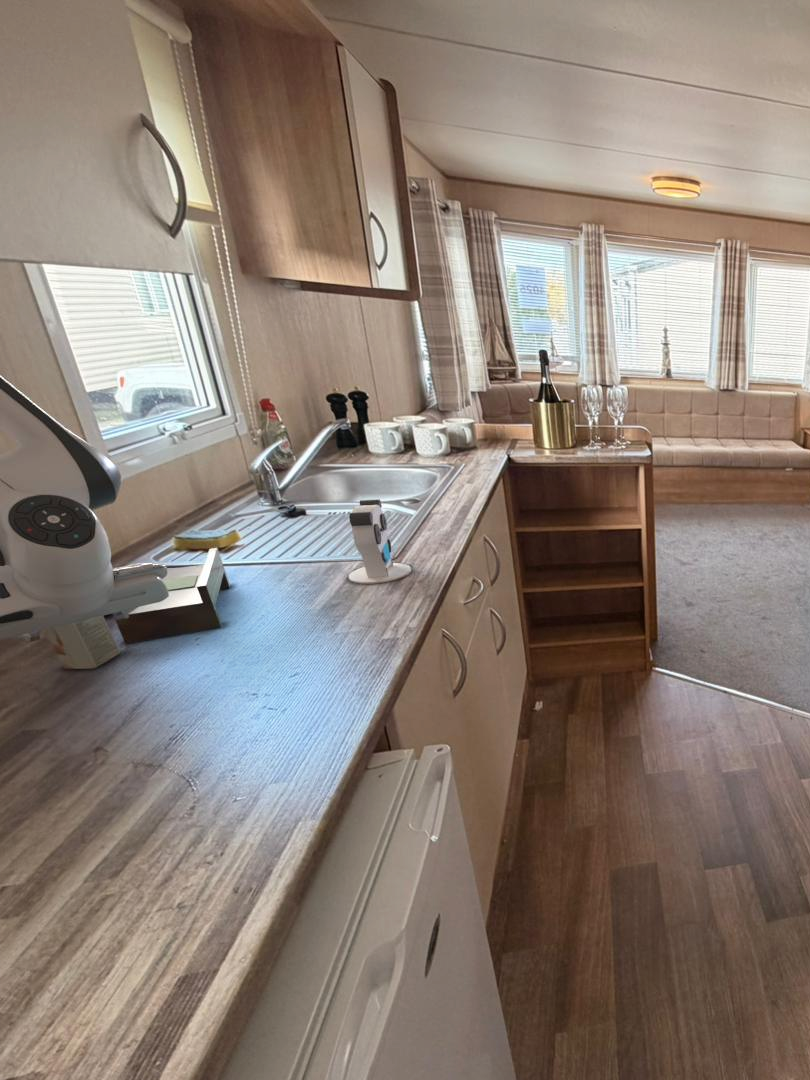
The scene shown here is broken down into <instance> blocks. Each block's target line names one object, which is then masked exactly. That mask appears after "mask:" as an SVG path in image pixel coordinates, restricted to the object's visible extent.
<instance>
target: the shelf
mask: <svg viewBox="0 0 810 1080" xmlns="http://www.w3.org/2000/svg"><path fill="white" fill-rule="evenodd" d="M163 581H164V583H165V584H166V586H167V589H168V592H169V596H168V597H167V598H166V599H165V600H163V601H161V602H157V603H153V604H149V605H144V606H140V607H138V608H136V609H135V610H134V611H132V612H131V613H129V618H126V619H121V620H117V621H116V620H115V618H114V617H113V619H114V621H115V623H116V626H117V628H118V631H119V633H120V635H121V637H122V639H123V641H124V644H125V645H127V644H133V643H138V642H145V641H151V640H156V639H162V638H163V639H164V638H167V637H169V638H170V637H173V636H179V635H185V634H192V633H197V632H203V631H210V630H214V629H221V628H222V625H223V623H222V621H221V617H220V615H219V613H218V610H217V607H216V605H217V602H218V601H217V600H218V597H219V594H220V590H225V589H230V587H231V584H230V581H229V577H228V574H227V572H226V569H225V566H224V563H223V560H222V557H221V554H220V552H219V549H218V547H214V548H213V547H211V548H209V549H208V552H207V555H206V558H205V561H204V564H198V565H197V564H196V565H190V566H182V567H174V568H167V576H166V577H165V578H163Z"/></svg>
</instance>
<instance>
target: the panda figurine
mask: <svg viewBox="0 0 810 1080" xmlns="http://www.w3.org/2000/svg"><path fill="white" fill-rule="evenodd" d="M382 507H383V506H382V501H381V499H363V500H359V505H356V506H355V507H354V508H353V509H352V512H349V523H350V525H351V530H352V531H351V532H352V538H353V541H354V545H355V548H356V549H357V551H358V553H359V554H360V555H361V558H362V562H363V566H362V567H360V568H357V569H355V570H353V571H351V572H350V573H349V574H348V580H349V581H350V582H352V583H356V584H361V585H372V584H373V585H374V584H382V583H388V582H393V581H396V580H400V579H402V578H404V577H406V576H408V575H409V574H411V572H412V567H411V566H410V565H408V564H405V563H401V562H393V558H392V555H391V552H392V542H391V540H390V539H389V538H388V524H387V523H388V522H387V518H386V516H385V514H384V513H383V510H382Z"/></svg>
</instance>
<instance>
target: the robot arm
mask: <svg viewBox="0 0 810 1080" xmlns="http://www.w3.org/2000/svg"><path fill="white" fill-rule="evenodd" d="M0 430H1V431H3V432H4V433H6V435H8V436H9V437H11V438H12V439H13V440H14V441H15V442H16V443H17V447H16V448H14V449H12V450H10V451H7V452H4V453H2V454H0V641H2V640H6V639H11V638H13V639H20V640H23V641H24V642H25V644H28V643H32V642H36V641H40V640H41V636H40V633H39V632H40V631H44V629H48V628H52V627H57V626H61V625H65V624H69V623H73V622H78V621H82V620H86V619H90V618H94V617H98V616H103V615H105V616H108V615H112V616H113V619H114V618H115V619H114V621H115V620H116V621H117V620H121V619H126V618H129V613H131V612H132V611H134V610H135V609H136V608H138V607H140V606H144V605H149V604H153V603H157V602H161V601H163V600H165V599H166V598H167V597H168V596H169V592H168V589H167V586H166V584H165V583H164V581H163V578H165V577H166V576H167V569H168V567H167V566H166V565H165V564H163V563H161V564H154V563H152V562H149V563H146V562H145V563H144V562H143V563H134V564H130V565H129V564H128V565H124V566H120V567H115V568H114V567H113V564H112V562H111V560H112V552H111V551H112V550H111V545H110V541H109V538H108V537H109V536H108V534H107V532H106V529H105V528H104V526H103V524H102V522H101V520H100V518H98V516H97V515H96V513H94V512H93V511H96V510H98V509H101V508H103V507H106V506H109V505H112V504H114V503H115V501H116V500H117V498H118V496H119V492H120V490H121V489H120V488H121V484H122V476H121V472H120V470H119V469H118V467H117V466H116V465H115V464H114V462H112V461H111V460H110V459H109V458H108V457H107V456H106V455H105V454H103V453H102V452H101V451H100V450H98V449H97V448H96V447H94V446H93V445H91V444H90V443H89V442H87V441H86V440H84V439H83V438H81V437H79V436H78V435H76V434H75V433H73V432H72V431H71V430H69V429H68V428H66V427H65V426H64V425H62V424H61V423H60V422H58V421H57V420H56V419H55V418H54V417H53V416H51V415H50V414H48V413H47V412H46V411H45V410H44V409H42V408H41V407H40V406H38V405H37V404H36V403H35V402H34V401H32V400H31V399H30V398H29V397H27V395H25V394H24V393H23V392H21V391H20V390H19V389H17V388H16V387H15V386H14V385H13V384H12V383H10V382H9V381H8V380H6V379H5V378H4V377H3V376H2V375H0ZM107 614H108V615H107ZM103 617H104V616H103ZM116 621H115V622H116Z"/></svg>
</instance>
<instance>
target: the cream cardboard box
mask: <svg viewBox="0 0 810 1080" xmlns="http://www.w3.org/2000/svg"><path fill="white" fill-rule="evenodd" d="M43 631H44V632H45V635H46V636H47V638H48V640H49V643H50V644H51V646H52V648H53V649H54V652H55V654H56V655H57V658H58V660H59V661H60V663H61V666H62V667H63V668H64V670H87V669H96V668H98V667H99V666H101V665H103V664H104V663H106V662H108V661H110V660H111V659H113V658H115V657H116V656H118V655H120V654H121V650H120V648H119V646H118V644H117V642H116V640H115V637H114V636H113V634H112V631H111V630H110V627H109V625H108V623H107V621H106V619H105V617H104V616H98V617H94V618H90V619H86V620H82V621H78V622H73V623H69V624H65V625H61V626H57V627H52V628H48V629H44V630H43Z"/></svg>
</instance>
